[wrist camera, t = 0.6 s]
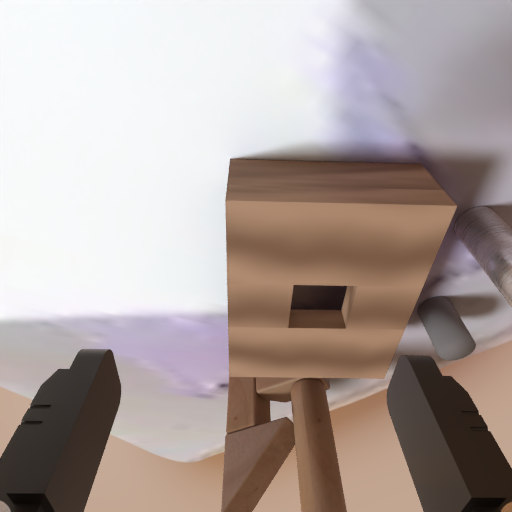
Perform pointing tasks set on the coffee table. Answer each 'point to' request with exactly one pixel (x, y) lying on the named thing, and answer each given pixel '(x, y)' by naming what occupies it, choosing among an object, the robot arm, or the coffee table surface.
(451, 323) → the short pin
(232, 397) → the brown angled frame
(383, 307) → the brown block with hole
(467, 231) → the long pin
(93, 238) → the coffee table surface
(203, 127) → the coffee table surface
